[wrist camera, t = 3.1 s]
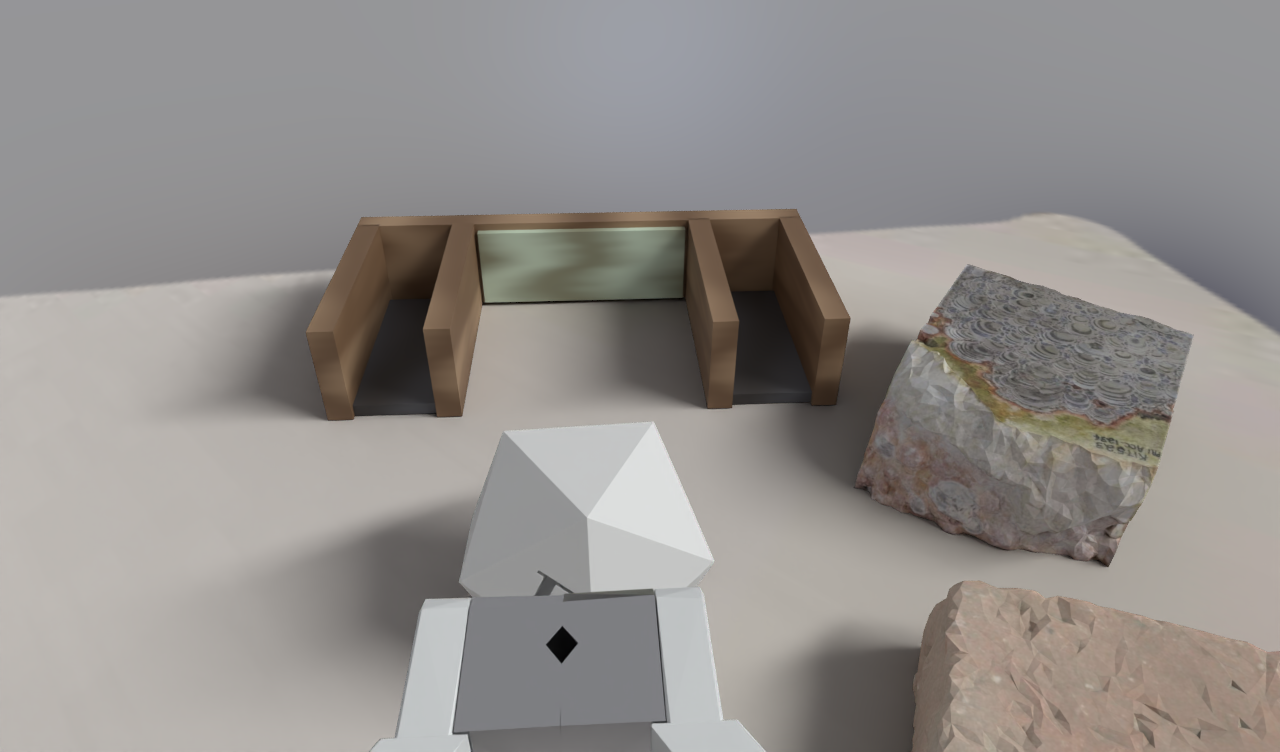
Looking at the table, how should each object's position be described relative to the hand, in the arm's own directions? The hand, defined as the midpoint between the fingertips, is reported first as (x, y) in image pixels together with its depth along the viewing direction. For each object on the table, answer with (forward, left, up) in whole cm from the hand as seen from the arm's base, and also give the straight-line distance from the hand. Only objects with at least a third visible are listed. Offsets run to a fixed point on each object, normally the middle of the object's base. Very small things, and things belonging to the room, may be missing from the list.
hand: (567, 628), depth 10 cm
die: (0, +15, -18) cm, 24 cm away
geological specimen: (+20, +24, -18) cm, 36 cm away
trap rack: (0, +33, -18) cm, 38 cm away
